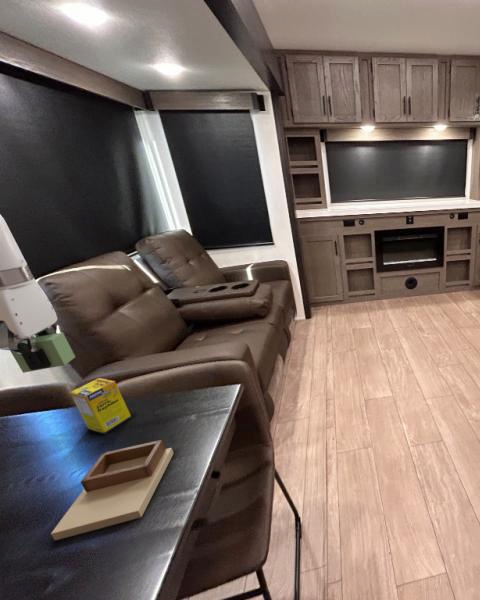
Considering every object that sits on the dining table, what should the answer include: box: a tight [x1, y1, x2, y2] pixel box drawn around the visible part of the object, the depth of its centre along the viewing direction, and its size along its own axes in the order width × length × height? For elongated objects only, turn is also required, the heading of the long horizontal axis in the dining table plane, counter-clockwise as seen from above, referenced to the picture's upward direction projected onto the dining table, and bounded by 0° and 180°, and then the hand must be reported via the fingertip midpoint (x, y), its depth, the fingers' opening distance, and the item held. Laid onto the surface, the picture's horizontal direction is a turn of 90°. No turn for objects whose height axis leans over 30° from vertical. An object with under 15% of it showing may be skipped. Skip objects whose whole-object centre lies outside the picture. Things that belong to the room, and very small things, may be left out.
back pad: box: [9, 332, 76, 374], centre depth 65 cm, size 4×7×6 cm, turn 106°
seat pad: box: [50, 439, 175, 541], centre depth 57 cm, size 14×12×4 cm
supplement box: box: [69, 377, 132, 435], centre depth 74 cm, size 6×6×11 cm
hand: (48, 362), depth 66 cm, fingers closed on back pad, 3 cm apart
